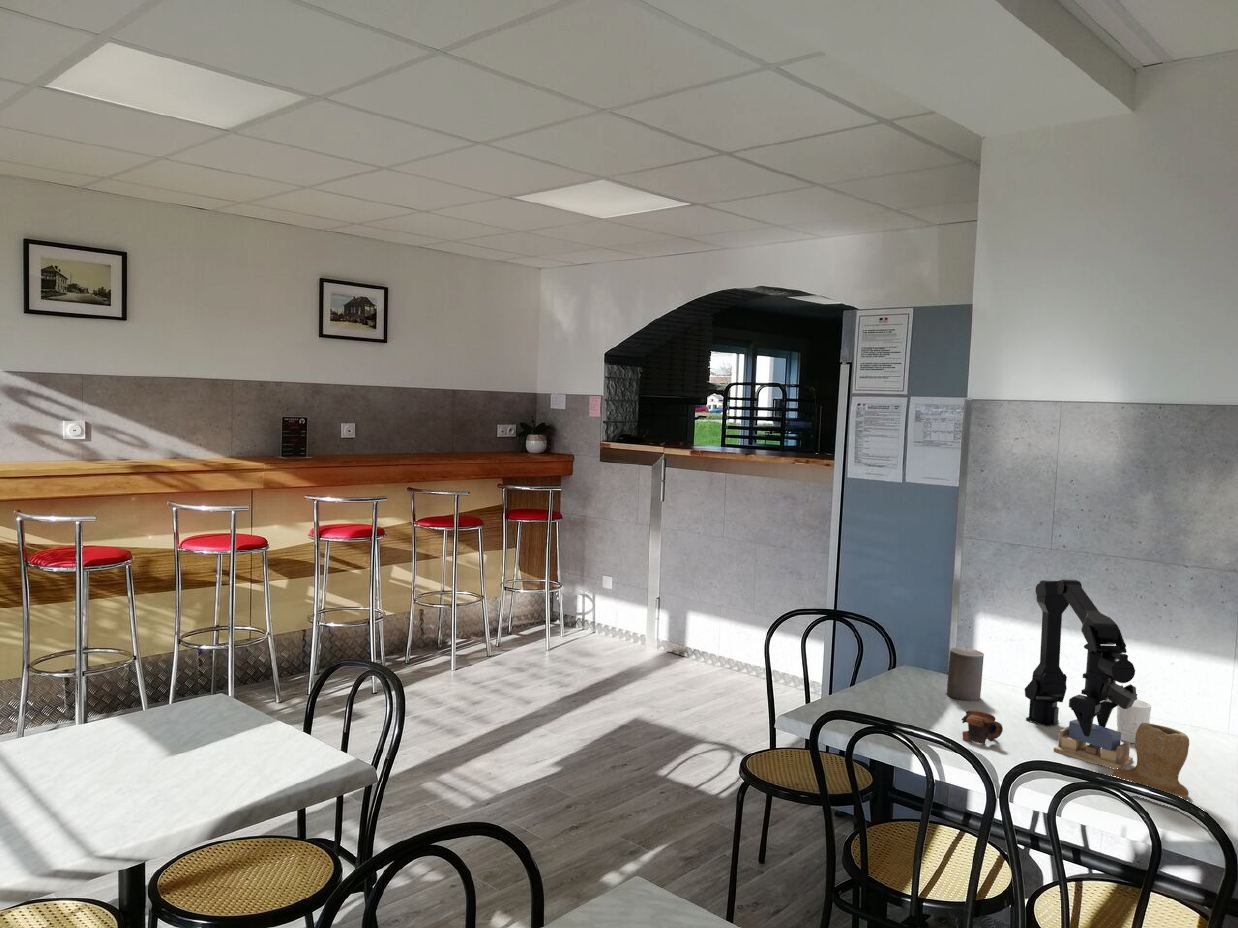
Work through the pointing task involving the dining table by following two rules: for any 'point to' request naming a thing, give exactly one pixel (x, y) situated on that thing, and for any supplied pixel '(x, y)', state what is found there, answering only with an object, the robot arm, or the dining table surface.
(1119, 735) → the tall slate-blue box
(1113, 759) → the display cradle
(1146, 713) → the white cup
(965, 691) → the pillar candle
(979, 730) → the pottery mug
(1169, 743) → the stone cup
